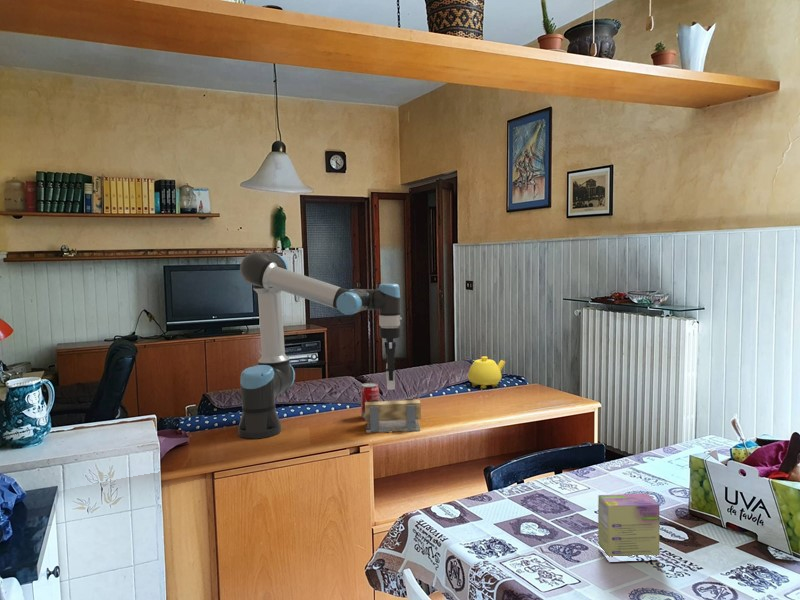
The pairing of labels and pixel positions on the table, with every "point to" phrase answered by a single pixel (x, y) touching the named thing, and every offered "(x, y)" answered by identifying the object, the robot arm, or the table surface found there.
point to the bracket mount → (395, 425)
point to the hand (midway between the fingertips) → (390, 384)
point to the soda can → (368, 395)
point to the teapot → (485, 372)
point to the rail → (393, 410)
